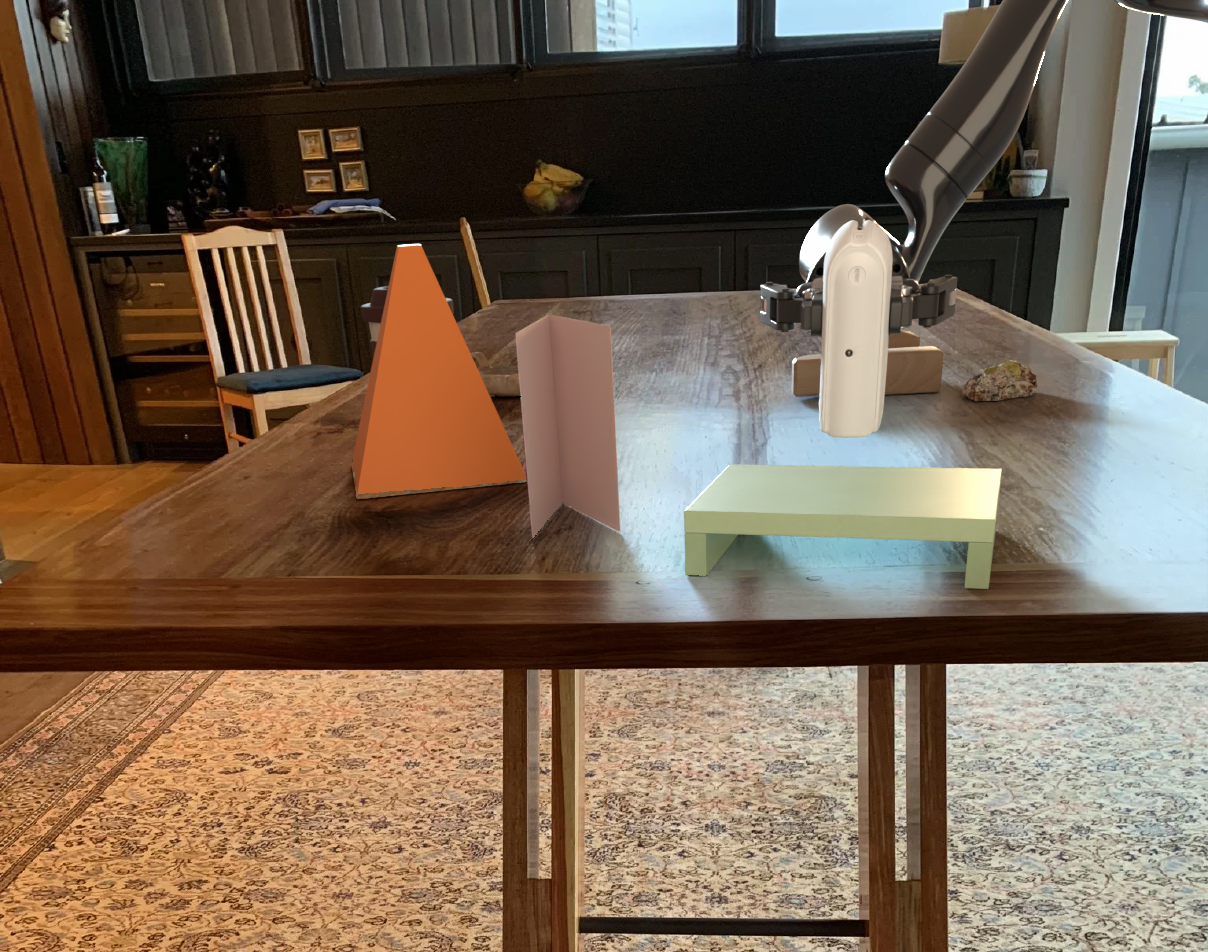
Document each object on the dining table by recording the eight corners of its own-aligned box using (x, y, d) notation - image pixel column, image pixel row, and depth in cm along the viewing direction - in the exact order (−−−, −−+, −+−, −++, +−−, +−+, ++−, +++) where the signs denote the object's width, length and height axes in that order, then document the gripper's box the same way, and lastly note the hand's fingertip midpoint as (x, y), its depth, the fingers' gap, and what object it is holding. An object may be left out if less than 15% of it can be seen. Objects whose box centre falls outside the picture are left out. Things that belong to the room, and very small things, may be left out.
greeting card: (552, 502, 102) (538, 314, 95) (638, 501, 101) (630, 311, 94) (521, 540, 92) (503, 333, 85) (616, 539, 91) (605, 329, 84)
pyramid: (529, 482, 110) (509, 242, 100) (356, 500, 107) (319, 255, 98) (504, 449, 123) (485, 235, 114) (350, 464, 121) (318, 247, 111)
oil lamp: (560, 394, 152) (557, 353, 149) (515, 404, 147) (511, 361, 145) (496, 386, 160) (492, 347, 158) (451, 395, 156) (447, 355, 154)
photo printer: (883, 438, 76) (896, 223, 70) (815, 439, 77) (822, 227, 71) (883, 407, 85) (895, 213, 79) (822, 407, 86) (829, 216, 80)
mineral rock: (985, 363, 141) (1049, 347, 135) (991, 401, 142) (1055, 387, 136) (936, 380, 135) (1001, 364, 129) (943, 419, 136) (1008, 405, 130)
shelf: (995, 530, 88) (1002, 468, 86) (988, 589, 76) (995, 519, 74) (729, 522, 94) (729, 464, 92) (685, 575, 82) (683, 510, 80)
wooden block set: (953, 341, 136) (794, 350, 137) (949, 393, 139) (793, 401, 139) (919, 323, 151) (777, 331, 152) (916, 370, 154) (776, 378, 154)
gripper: (951, 337, 90) (967, 377, 76) (762, 343, 93) (742, 382, 79) (960, 228, 87) (978, 247, 72) (763, 237, 90) (742, 257, 75)
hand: (855, 317), depth 75 cm, fingers closed on photo printer, 4 cm apart
